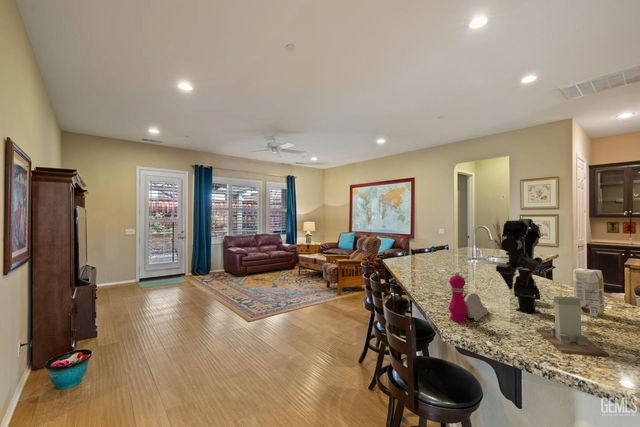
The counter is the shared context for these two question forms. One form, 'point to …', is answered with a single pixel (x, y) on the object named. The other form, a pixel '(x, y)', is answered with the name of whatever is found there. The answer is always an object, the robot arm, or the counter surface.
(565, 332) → the door
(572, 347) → the plate
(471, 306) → the grey rounded slab
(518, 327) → the counter surface
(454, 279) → the pepper mill
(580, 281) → the juice carton
